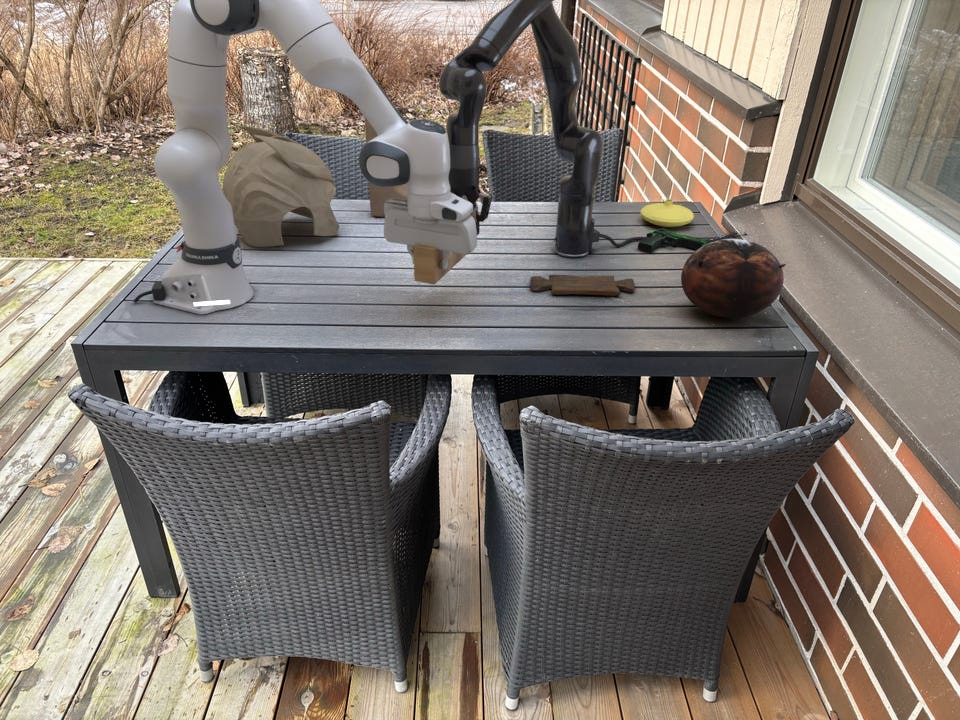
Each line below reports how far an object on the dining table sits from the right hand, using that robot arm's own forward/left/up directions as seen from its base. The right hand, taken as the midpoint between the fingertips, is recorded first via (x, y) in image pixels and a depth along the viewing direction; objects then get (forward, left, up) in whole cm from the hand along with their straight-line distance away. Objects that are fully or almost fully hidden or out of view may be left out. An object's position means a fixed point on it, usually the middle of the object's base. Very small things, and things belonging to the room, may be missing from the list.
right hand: (462, 234), depth 167 cm
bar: (+6, +6, -3) cm, 10 cm away
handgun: (-64, -4, -14) cm, 66 cm away
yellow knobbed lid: (-75, -21, -14) cm, 79 cm away
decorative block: (-2, -58, -14) cm, 59 cm away
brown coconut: (-51, +34, -14) cm, 63 cm away
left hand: (+13, +13, -1) cm, 18 cm away
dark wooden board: (-28, +10, -14) cm, 33 cm away
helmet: (+33, -53, -14) cm, 63 cm away
